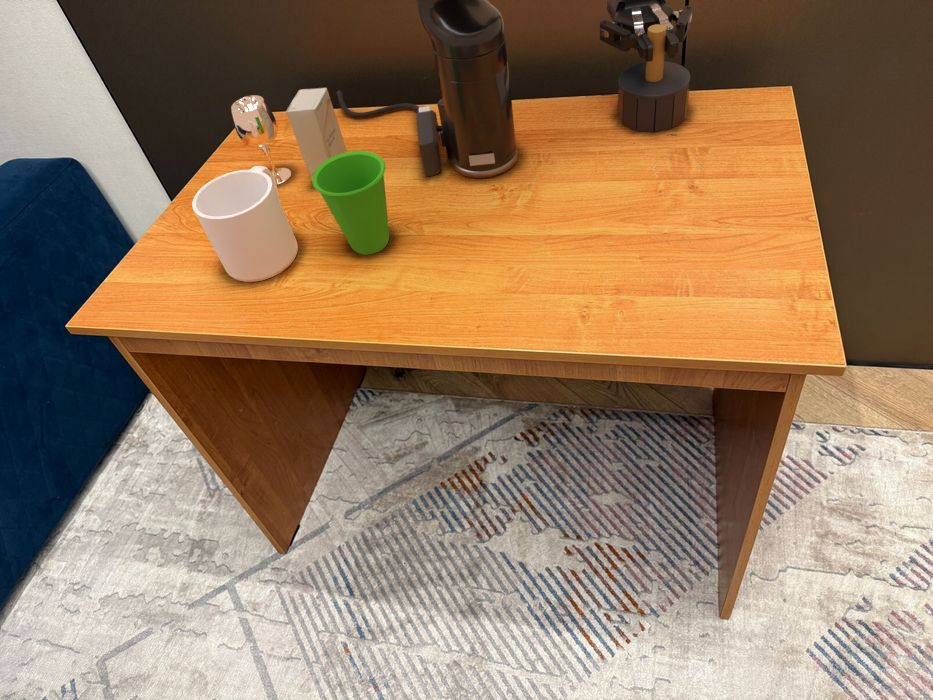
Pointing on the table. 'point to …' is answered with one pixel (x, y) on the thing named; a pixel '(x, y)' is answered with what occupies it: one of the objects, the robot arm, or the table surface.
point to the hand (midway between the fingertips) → (661, 52)
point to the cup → (356, 198)
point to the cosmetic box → (315, 127)
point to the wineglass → (258, 129)
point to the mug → (246, 224)
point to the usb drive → (429, 140)
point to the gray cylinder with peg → (653, 90)
